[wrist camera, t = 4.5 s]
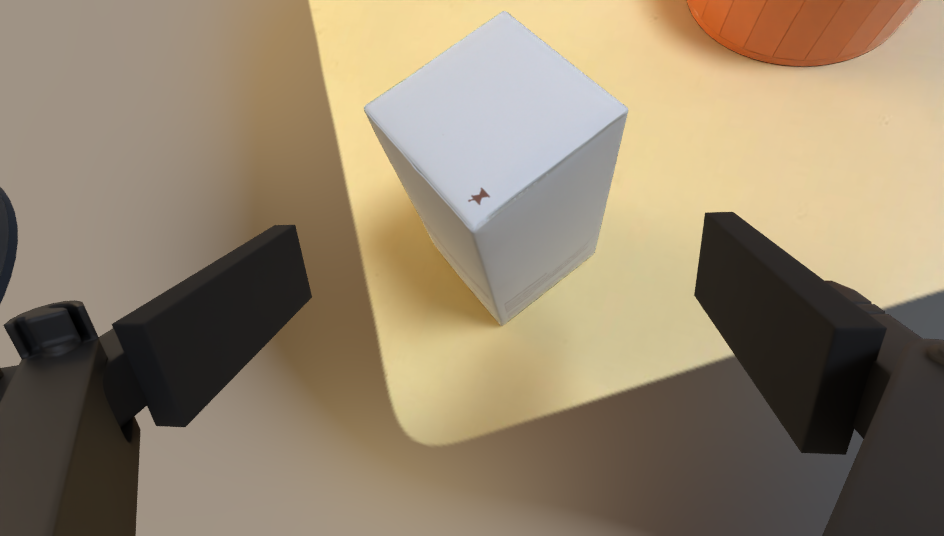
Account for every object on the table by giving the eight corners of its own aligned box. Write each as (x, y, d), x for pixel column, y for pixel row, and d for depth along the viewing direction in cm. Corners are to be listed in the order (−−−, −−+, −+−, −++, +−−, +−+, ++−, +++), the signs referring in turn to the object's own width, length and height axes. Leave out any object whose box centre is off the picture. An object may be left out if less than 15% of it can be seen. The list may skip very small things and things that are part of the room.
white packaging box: (598, 254, 27) (639, 110, 16) (500, 330, 27) (467, 237, 15) (520, 174, 30) (506, 2, 19) (429, 241, 29) (355, 104, 18)
